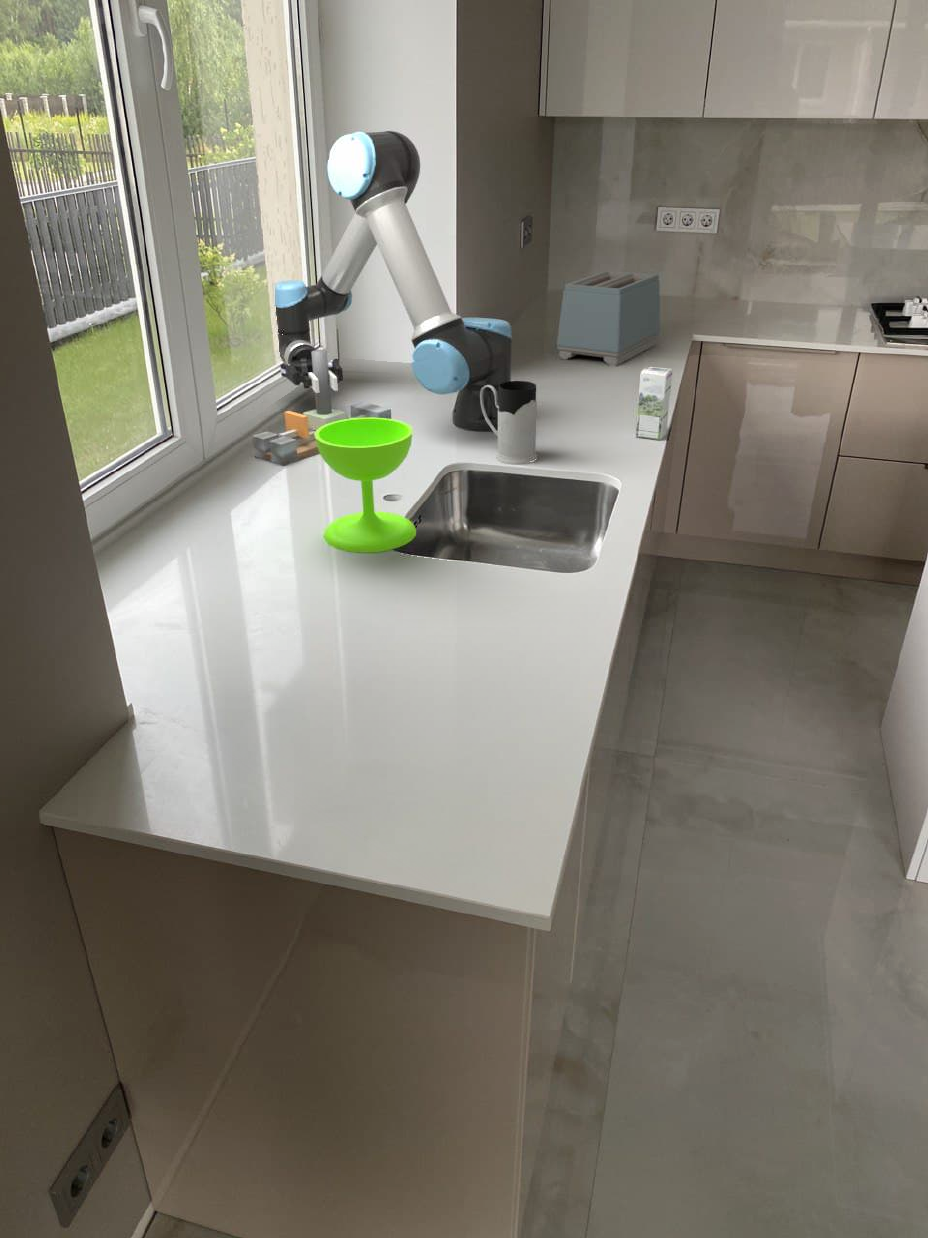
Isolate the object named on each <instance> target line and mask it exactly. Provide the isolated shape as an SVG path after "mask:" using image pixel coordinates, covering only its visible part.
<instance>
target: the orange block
mask: <svg viewBox="0 0 928 1238" xmlns="http://www.w3.org/2000/svg"><path fill="white" fill-rule="evenodd" d="M284 420H285V421H284V423H285V432H281V433H279V434H278V436H279V438H281V437H284V436H285V437H288V438H294V437H297V436H299V437H302V438H308V437H310V435H309V432H310V428H309V424H308V416H306V415H303V413H302V414H301V413H297V412H295V411H294V412H293V411H291V410H287V411H284Z"/></svg>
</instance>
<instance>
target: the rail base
mask: <svg viewBox="0 0 928 1238" xmlns="http://www.w3.org/2000/svg"><path fill="white" fill-rule="evenodd" d="M349 407H350V418H349V419H352V418H387V419H392V409H391V408H389V407H385V406H380V405H378V404H377V405H376V404H373V403H368V402H364V401H362V402H358V403H356V404H352V405H349ZM315 432H316V430H315V429H312V430H311V431H310V430H309V435H310V437H308V438H302V437H299V436H297V437H294V438H288V437H285V436H284V437H281V438H279V434H277V433H274V432H272V431H271V432H270V431H264V432H261V433H258V434H254V435H252V442H253V452H254V457H255V456H256V457H255V458H257V457H259V458H258V459H261V460H263V461H267V462H269V463H270V462H271V463H274V464H277V465H278V466H279V465H280V466H282V467H283V466H284V467H285V466H286V465H290V464H292V463H295V462H299V461H301V460H304V459H306V458H310V457H312V456H314V455H315V456H316V455H319V454H320V452H319V450H318V448H317V444H316V440H315V435H314V434H315Z"/></svg>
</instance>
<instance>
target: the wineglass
mask: <svg viewBox="0 0 928 1238" xmlns="http://www.w3.org/2000/svg"><path fill="white" fill-rule="evenodd" d="M314 435H315V440H316V444H317V448H318V450H319V452H320V453H319V454H320V456H321V457H322V459H323V462H324V463H326V465H328V467H330V469H331V470H333V471H334V472H335V473H337V474H338V475H341V476H342V477H344V478H345V479H349V480H353V481H357V482H358V481H359V482H360V484H361V500H362V501H361V502H362V511H361V512H355V513H351V514H347V515H344V516H341V517H339V518H337V519H335V520H333V521H331V523H329V524H328V526H326V528H325V530H324V533H323V539H324V541H325V543H326V544H328V545H329V546H331V547H332V548H334V549H338V550H340V551H345V552H351V553H364V554H365V553H367V554H368V553H372V554H373V553H377V552H378V553H379V552H386V551H390V550H396V549H398V548H400V547H402V546H405V545H407V544H408V543H410V542H411V541H413V540H414V538H415V537H416V536H417V528H416V527H415V525H414V523H413V522H412V521H411V520H409V519H408V518H407V517H405V516H403V515H400V514H397V513H391V512H388V511H387V512H386V511H375V500H374V483H373V482H374V481H375V480H380V479H384V478H385V477H387V476H389V475H390V474H392V473H393V472H394V471H396V470H397V469H398V468H399V467H400V466H401V465H402V463H403V462H404V460H405V459H406V458H407V456H408V454H409V451H410V448H411V447H412V438H413V428H412V426H411V425H409V424H407V423H406V422H403V421H401V420H397V419H393V418H391V419H387V418H352V419H350V418H348V419H347V418H346V419H345V420H340V421H336V422H332V423H328V424H326V425H324V426H322V427H320V428H319V429H317V430H316V432H315V434H314Z"/></svg>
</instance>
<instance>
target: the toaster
mask: <svg viewBox="0 0 928 1238" xmlns="http://www.w3.org/2000/svg"><path fill="white" fill-rule="evenodd" d="M659 276H660V275H659V274H657V273H645V272H635V271H634V272H632V271H620V270H610V269H607V270H604V271H600V272H598V273H594V274H592V275H589V276H586V277H583V278H580V279H577V280H575V281H571V282H568V283H565V285H564V290H563V292H562V300H561V307H560V308H561V309H560V315H559V316H560V317H559V324H558V331H557V332H558V333H557V339H556V345H557V347H556V348H557V350H558V351H559V352H558V357H559V356H560V357H564V358H570V359H572V358H574V357H576V355H577V356H579V355H581V356H588V357H598V358H603V362H605V363H606V364H607V366H610V365H614V366H613V367H617V366H619V365H621V364H623V363H625V362H627V361H628V359H629V360H631V359H632V358H634V357H636V356H638V355H640V354H641V353H643V351H644V352H646V351H647V350H649V349H651V348H653V347H655V346H656V345H657V339H658V338H659V336H660V331H661V329H660V328H661V326H660V325H661V323H660V322H661V319H660V317H661V315H660V313H661V310H660V309H661V308H660V306H661V305H660V304H661V303H660V302H661V301H660V300H661V298H660V297H661V296H660V293H661V292H660V291H661V290H660V280H659V279H660V278H659ZM654 345H655V346H654ZM645 350H646V351H645ZM578 354H579V355H578ZM637 354H638V355H637ZM571 357H572V358H571ZM626 360H627V361H626ZM624 361H625V362H624Z"/></svg>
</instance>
